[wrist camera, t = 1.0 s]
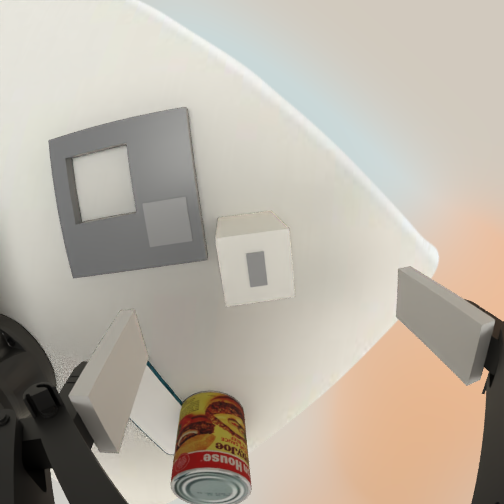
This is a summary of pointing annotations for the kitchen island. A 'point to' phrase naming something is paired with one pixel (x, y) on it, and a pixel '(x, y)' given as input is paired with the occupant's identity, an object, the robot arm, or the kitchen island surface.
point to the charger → (254, 258)
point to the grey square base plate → (145, 196)
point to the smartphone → (157, 410)
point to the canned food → (211, 451)
